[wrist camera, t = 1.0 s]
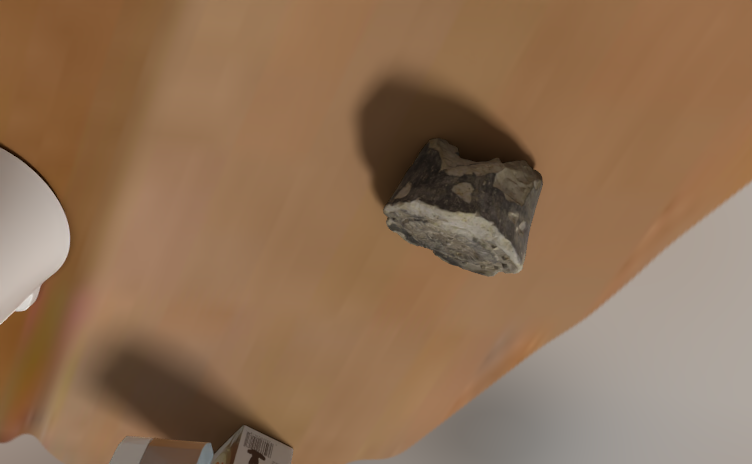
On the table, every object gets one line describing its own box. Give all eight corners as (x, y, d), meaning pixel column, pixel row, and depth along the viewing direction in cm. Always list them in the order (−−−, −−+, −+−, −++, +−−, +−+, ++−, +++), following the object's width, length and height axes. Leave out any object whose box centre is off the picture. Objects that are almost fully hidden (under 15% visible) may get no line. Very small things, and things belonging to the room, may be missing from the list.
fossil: (371, 248, 47) (373, 267, 37) (396, 133, 47) (405, 122, 37) (504, 276, 48) (541, 302, 38) (531, 163, 47) (576, 159, 37)
